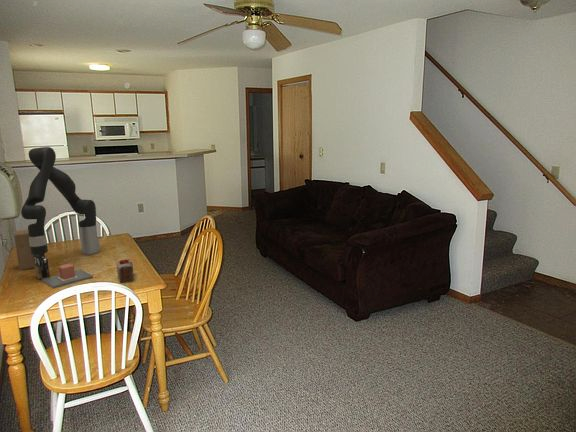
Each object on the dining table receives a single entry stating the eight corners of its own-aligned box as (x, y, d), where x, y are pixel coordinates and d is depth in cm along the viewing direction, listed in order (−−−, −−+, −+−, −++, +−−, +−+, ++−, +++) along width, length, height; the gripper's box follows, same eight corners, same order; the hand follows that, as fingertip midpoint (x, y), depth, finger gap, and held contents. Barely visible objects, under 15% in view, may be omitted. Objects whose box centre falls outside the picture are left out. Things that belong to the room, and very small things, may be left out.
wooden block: (19, 270, 224) (13, 234, 220) (21, 265, 233) (16, 230, 229) (40, 267, 229) (35, 232, 224) (41, 262, 237) (36, 228, 233)
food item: (116, 275, 216) (114, 257, 214) (132, 272, 220) (130, 255, 218) (119, 283, 204) (117, 264, 202) (136, 280, 208) (134, 262, 206)
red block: (71, 274, 214) (69, 263, 213) (75, 277, 210) (74, 265, 209) (59, 277, 210) (58, 266, 209) (63, 279, 206) (62, 268, 205)
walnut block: (46, 274, 216) (45, 263, 215) (50, 276, 213) (48, 265, 212) (36, 276, 213) (34, 265, 212) (39, 279, 210) (37, 268, 208)
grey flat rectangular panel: (80, 271, 222) (80, 269, 222) (93, 277, 212) (92, 275, 212) (42, 280, 208) (41, 278, 208) (53, 288, 198) (52, 286, 198)
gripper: (51, 244, 207) (56, 276, 211) (41, 239, 217) (45, 270, 220) (35, 248, 202) (39, 281, 205) (25, 243, 211) (30, 274, 215)
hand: (42, 275), depth 213 cm, fingers closed on walnut block, 5 cm apart
